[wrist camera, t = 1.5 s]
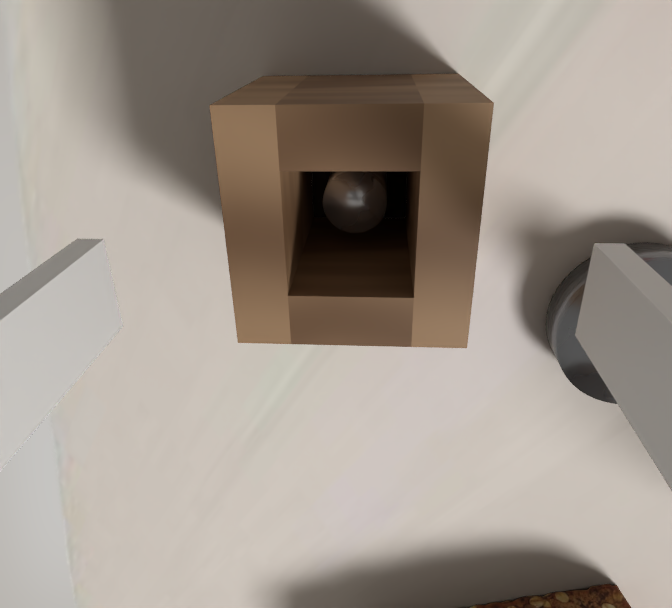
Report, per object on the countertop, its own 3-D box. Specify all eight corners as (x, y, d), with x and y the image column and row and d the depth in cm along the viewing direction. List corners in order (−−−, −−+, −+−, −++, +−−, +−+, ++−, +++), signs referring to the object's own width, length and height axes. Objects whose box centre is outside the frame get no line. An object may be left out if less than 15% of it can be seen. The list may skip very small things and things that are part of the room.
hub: (560, 241, 25) (619, 319, 19) (734, 243, 25) (856, 324, 18) (534, 378, 29) (578, 481, 22) (686, 382, 28) (775, 489, 22)
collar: (262, 76, 23) (209, 105, 16) (458, 73, 22) (493, 102, 15) (276, 254, 27) (237, 342, 20) (443, 256, 26) (466, 348, 19)
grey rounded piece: (331, 144, 24) (321, 170, 20) (387, 144, 24) (388, 170, 20) (332, 198, 25) (323, 232, 21) (385, 198, 25) (386, 233, 21)
